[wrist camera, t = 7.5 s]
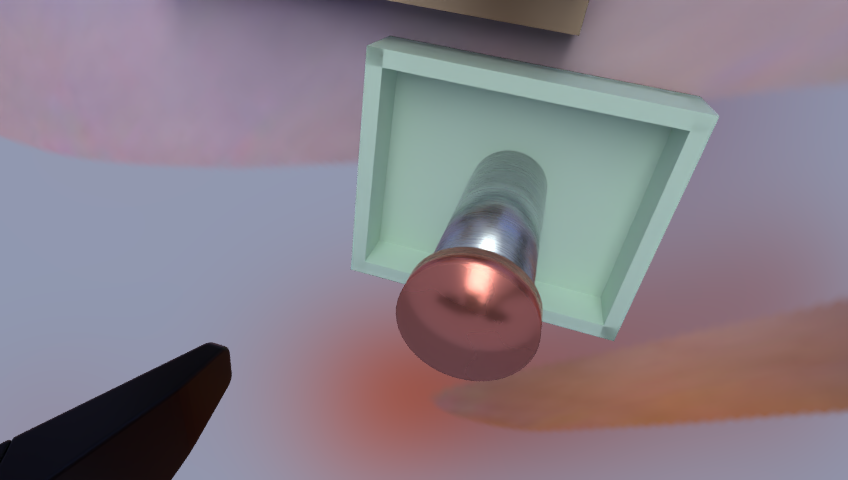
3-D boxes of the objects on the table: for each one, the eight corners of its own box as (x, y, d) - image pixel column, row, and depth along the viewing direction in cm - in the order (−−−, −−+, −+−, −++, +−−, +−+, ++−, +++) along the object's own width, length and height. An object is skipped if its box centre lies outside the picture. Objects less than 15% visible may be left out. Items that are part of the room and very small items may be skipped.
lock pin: (566, 154, 18) (559, 288, 11) (541, 236, 20) (520, 397, 13) (472, 133, 19) (404, 246, 11) (456, 214, 20) (389, 357, 13)
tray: (700, 96, 17) (719, 116, 14) (609, 303, 21) (613, 341, 19) (389, 35, 18) (366, 45, 16) (370, 241, 23) (350, 269, 21)
